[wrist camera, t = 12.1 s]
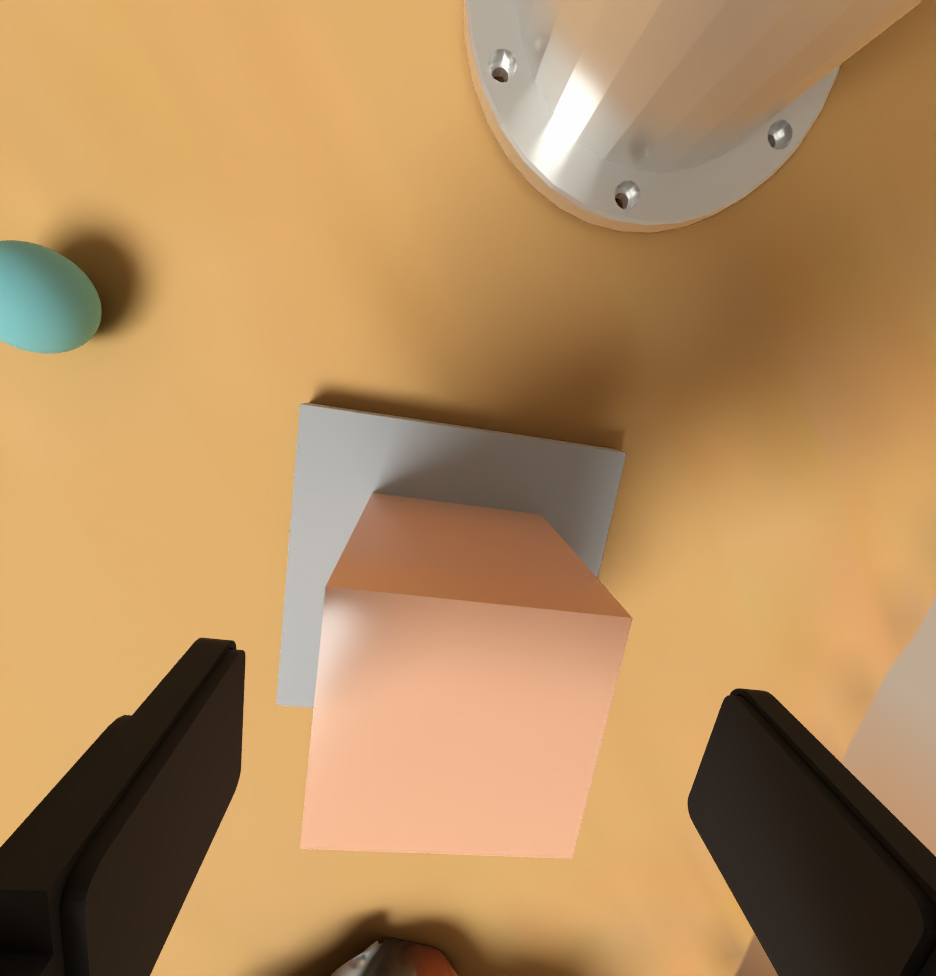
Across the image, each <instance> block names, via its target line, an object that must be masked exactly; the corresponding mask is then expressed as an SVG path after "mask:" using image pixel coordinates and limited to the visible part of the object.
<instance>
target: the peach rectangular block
mask: <svg viewBox="0 0 936 976" xmlns="http://www.w3.org/2000/svg"><path fill="white" fill-rule="evenodd" d="M631 622H632V617H631V616H630V615H629V614H628V613H627V611H626V610H625V609H624V608H623V607H622V606H621V605H620V603H619V602H618V601H617V600H616V599H615V598H614V597H613V595H612V594H611V593H610V592H609V591H608V590H607V589H606V588H605V586H604V585H603V584H602V583H601V582H600V581H599V580H598V578H597V577H596V576H595V575H594V574H593V573H592V572H591V571H590V569H589V568H588V567H587V566H586V565H585V564H584V563H583V561H582V560H581V559H580V558H579V557H578V556H577V555H576V554H575V552H574V551H573V550H572V549H571V548H570V547H569V546H568V544H567V543H566V542H565V541H564V540H563V539H562V538H561V537H560V535H559V534H558V533H557V532H556V531H555V530H554V529H553V527H552V526H551V525H550V524H549V523H548V522H547V521H546V519H545V518H544V517H543V516H542V515H541V514H534V513H527V512H519V511H511V510H503V509H496V508H488V507H480V506H472V505H464V504H457V503H449V502H441V501H433V500H426V499H418V498H410V497H402V496H395V495H387V494H379V493H372V495H371V497H370V499H369V501H368V503H367V505H366V507H365V509H364V511H363V513H362V515H361V517H360V519H359V521H358V523H357V525H356V527H355V529H354V531H353V533H352V534H351V536H350V538H349V540H348V542H347V544H346V546H345V548H344V550H343V552H342V554H341V556H340V558H339V560H338V562H337V564H336V566H335V568H334V570H333V572H332V574H331V576H330V578H329V580H328V582H327V584H326V587H325V597H324V607H323V618H322V628H321V638H320V649H319V659H318V669H317V679H316V690H315V700H314V710H313V721H312V731H311V741H310V752H309V762H308V772H307V783H306V793H305V803H304V813H303V824H302V834H301V844H300V849H322V850H350V851H378V852H406V853H434V854H461V855H489V856H517V857H545V858H572V857H573V853H574V849H575V845H576V841H577V837H578V833H579V829H580V825H581V821H582V817H583V813H584V809H585V805H586V801H587V797H588V793H589V789H590V785H591V781H592V777H593V773H594V769H595V765H596V761H597V757H598V753H599V749H600V745H601V741H602V737H603V733H604V729H605V726H606V722H607V718H608V714H609V710H610V706H611V702H612V698H613V694H614V690H615V686H616V682H617V678H618V674H619V670H620V666H621V662H622V658H623V654H624V650H625V646H626V642H627V638H628V634H629V630H630V626H631Z"/></svg>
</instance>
